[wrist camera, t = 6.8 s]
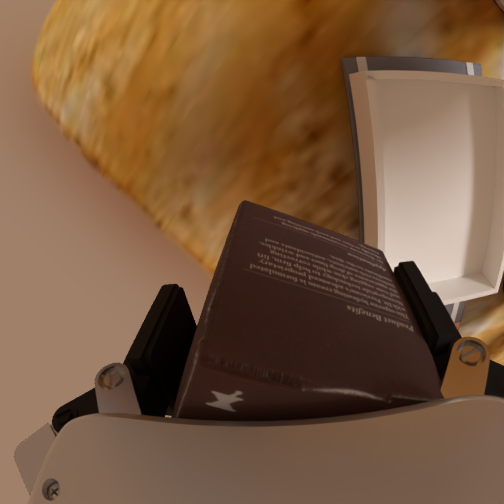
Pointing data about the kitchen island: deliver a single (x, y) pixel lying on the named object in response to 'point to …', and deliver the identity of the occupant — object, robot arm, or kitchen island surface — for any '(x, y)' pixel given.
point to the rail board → (350, 67)
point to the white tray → (434, 175)
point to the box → (302, 329)
